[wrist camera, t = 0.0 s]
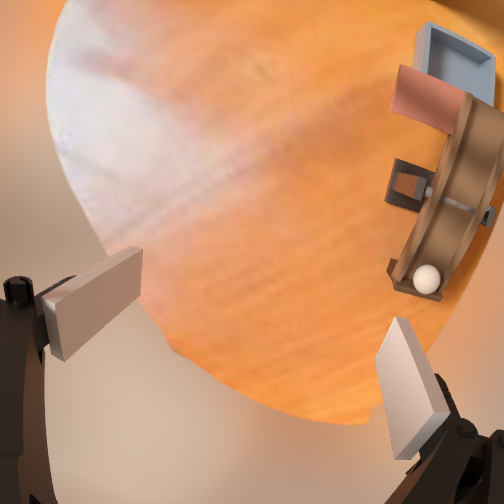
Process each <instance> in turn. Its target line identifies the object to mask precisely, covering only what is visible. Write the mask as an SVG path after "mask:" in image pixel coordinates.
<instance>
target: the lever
mask: <svg viewBox="0 0 504 504" xmlns="http://www.w3.org/2000/svg"><path fill="white" fill-rule="evenodd" d="M389 110H391V111H393V112H396V113H399V114H401V115H404V116H407V117H410V118H412V119H415V120H418V121H420V122H423V123H425V124H428V125H430V126H433V127H435V128H437V129H440V130H442V131H444V132H447V133H449V134H448V137H447V140H446V143H445V147H444V150H443V153H442V156H441V158H440V161H439V164H438V167H437V170H436V173H435V175H434V178H433V181H432V183H431V186H430V187H429V186H426V185H425V188H424V192H423V195H422V196H425V197H426V199H425V201H424V204H423V206H422V209H421V211H420V214H419V216H418V218H417V221H416V223H415V225H414V227H413V230H412V232H411V234H410V236H409V239H408V241H407V243H406V245H405V247H404V249H403V252H402V254H401V256H400V258H399V260H398V262H397V264H396V266H395V268H394V270H393V272H392V274H391V277H392V282H393V287H394V290H396V291H400V292H403V293H407V294H411V295H415V296H419V297H423V298H426V299H430V300H434V301H438V302H440V301H441V300H442V298H443V296H442V292H443V290H444V289H445V287H446V285H447V284H448V282H449V280H450V279H451V277H452V275H453V274H454V272H455V270H456V269H457V267H458V265H459V263H460V261H461V260H462V258H463V256H464V254H465V252H466V251H467V249H468V247H469V245H470V243H471V241H472V239H473V237H474V235H475V233H476V231H477V229H478V227H479V225H480V223H481V221H482V219H483V217H484V215H485V212H486V210H487V208H488V206H489V204H490V201H491V199H492V197H493V194H494V192H495V189H496V187H497V185H498V182H499V180H500V177H501V174H502V172H503V169H504V113H502V112H501V111H499V110H497V109H496V108H494V107H492V106H491V105H489V104H487V103H485V102H483V101H482V100H480V99H478V98H476V97H474V95H473V94H471V93H469V92H465V91H463V90H461V89H459V88H457V87H454V86H452V85H450V84H448V83H446V82H444V81H442V80H439V79H437V78H435V77H432V76H430V75H428V74H425V73H423V72H420V71H418V70H415V69H413V68H410V67H407V66H405V65H400V66H399V71H398V75H397V80H396V84H395V88H394V93H393V97H392V101H391V105H390V109H389ZM423 265H432V266H434V267H435V268H436V269H437V270H438V272H439V274H440V284H439V287H438V288H437V289H436V290H435V291H434V292H433V293H430V294H423V293H420V292H419V291H418V290H417V289H416V288H415V286H414V283H413V277H414V273H415V271H416V270H417V269H418V268H419V267H421V266H423Z"/></svg>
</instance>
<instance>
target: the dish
mask: <svg viewBox="0 0 504 504" xmlns="http://www.w3.org/2000/svg"><path fill="white" fill-rule="evenodd" d="M413 69H415V70H418V71H420V72H423V73H425V74H428V75H430V76H432V77H435V78H437V79H439V80H442V81H444V82H446V83H448V84H450V85H452V86H454V87H457V88H459V89H461V90H463V91H465V92H469V93H471V94H473V95H474V97H476V98H478V99H480V100H482V101H483V102H485V103H487V104H489V105H491V106H492V107H493V106H494V94H495V75H496V58H495V57H494V54H492V53H491V52H489V51H487V50H485V49H484V48H482V47H480V46H478V45H477V44H475V43H473V42H471V41H469V40H467V39H466V38H464V37H462V36H460V35H458V34H456V33H454V32H452V31H450V30H447V29H445V28H443V27H441V26H439V25H436V24H434V23H432V22H430V21H428V23H427V22H426V23H425V24H424V25H423V26H422V27H421V28H420V30H419V31H418V32H417V33H416V42H415V52H414V61H413Z"/></svg>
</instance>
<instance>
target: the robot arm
mask: <svg viewBox="0 0 504 504" xmlns="http://www.w3.org/2000/svg"><path fill="white" fill-rule="evenodd" d="M142 256H143V249H141V248H137V247H134V246H129V247H127V248H125V249H124V250H122V251H120V252H118V253H116V254H114V255H113V256H111V257H109V258H107V259H105V260H104V261H102V262H100V263H98V264H96V265H95V266H93V267H91V268H89V269H88V270H86V271H84V272H82V273H81V274H79V275H75V276H71V277H67V278H65V279H63V280H61V281H60V282H58V283H56V284H54V285H53V286H52V287H49V288H48V289H46V290H44V291H42V292H41V293H39V294H37V295H36V296H34V292H33V284H32V280H31V279H30V278H27V277H24V276H15V277H12V278H9V279H7V280H6V281H5V282H4V284H3V286H4V292H5V297H6V300H2V299H0V504H58V502H57V500H56V497H55V494H54V489H53V484H52V478H51V472H50V465H49V457H48V449H47V440H46V439H47V438H46V426H45V403H44V369H45V351H44V347H45V346H46V345H48V344H50V349H51V354H52V355H54V356H55V357H57V358H58V359H60V360H62V361H64V362H65V361H66V360H67V359H69V358H70V357H71V356H72V355H73V354H74V353H75V352H76V351H77V350H78V349H79V348H80V347H82V346H83V345H84V344H85V343H86V342H87V341H88V340H90V339H91V338H92V337H93V336H94V335H95V334H96V333H98V332H99V330H101V329H102V328H103V327H104V326H105V325H106V324H108V323H109V322H110V321H111V320H112V319H113V318H115V317H116V316H117V315H118V314H119V313H120V312H122V311H123V310H124V309H125V308H126V307H127V306H128V305H130V304H131V303H132V302H133V301H134V300H136V299H137V298H138V297H139V296H140V289H141V270H142ZM374 361H375V365H376V369H377V374H378V378H379V382H380V387H381V392H382V396H383V401H384V406H385V411H386V416H387V421H388V427H389V432H390V438H391V444H392V450H393V457H394V459H395V460H411V459H412V458H413V456H414V455H415V454H416V453H417V452H418V451H419V453H420V459H419V460H418V461H417V463H416V464H414V465H413V466H412V467H411V468H410V469H409V470H408V471H407V472H406V474H407V476H406V477H405V479H404V480H403V481H402V482H401V484H400V485H399V486H398V488H397V489H396V490H395V491H394V493H393V494H392V495H391V496H390V497H389V499H388V500H387V501H386V503H385V504H504V430H496V431H495V432H494V433H493V434H492V435H491V436H490V437H489V438H488V437H485V436H481V435H478V431H477V429H476V427H475V426H474V424H473V423H471V422H470V421H469V420H467V419H464V418H461V417H460V415H459V413H458V410H457V408H456V405H455V403H454V401H453V398H451V394H450V392H449V391H448V390H449V389H448V387H447V385H446V383H445V381H444V380H443V379H442V378H441V377H440V376H439V374H435V373H434V372H433V370H432V368H431V366H430V364H429V361H428V359H427V357H426V355H425V353H424V351H423V349H422V347H421V344H420V342H419V340H418V338H417V336H416V334H415V332H414V330H413V328H412V326H411V324H410V322H409V320H408V319H405V318H401V317H397V316H395V317H394V319H393V322H392V324H391V326H390V328H389V330H388V332H387V335H386V337H385V339H384V341H383V343H382V345H381V347H380V349H379V351H378V353H377V355H376V357H375V359H374Z"/></svg>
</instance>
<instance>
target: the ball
mask: <svg viewBox="0 0 504 504" xmlns="http://www.w3.org/2000/svg"><path fill="white" fill-rule="evenodd" d="M413 283H414V286H415V288H416V289H417V290H418V291H419V292H420V293H423V294H430V293H433V292H434V291H435V290H436V289H437V288H438V287H439V284H440V274H439V272H438V270H437V269H436V268H435V267H434V266H432V265H423V266H421V267H419V268H418V269H417V270H416V271H415V273H414V277H413Z"/></svg>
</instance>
